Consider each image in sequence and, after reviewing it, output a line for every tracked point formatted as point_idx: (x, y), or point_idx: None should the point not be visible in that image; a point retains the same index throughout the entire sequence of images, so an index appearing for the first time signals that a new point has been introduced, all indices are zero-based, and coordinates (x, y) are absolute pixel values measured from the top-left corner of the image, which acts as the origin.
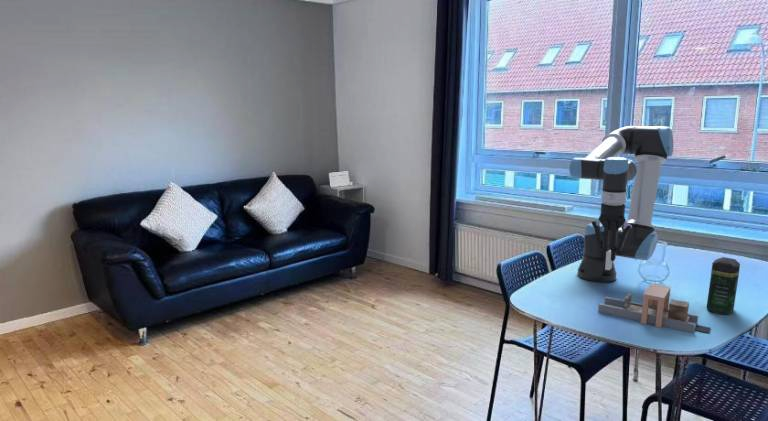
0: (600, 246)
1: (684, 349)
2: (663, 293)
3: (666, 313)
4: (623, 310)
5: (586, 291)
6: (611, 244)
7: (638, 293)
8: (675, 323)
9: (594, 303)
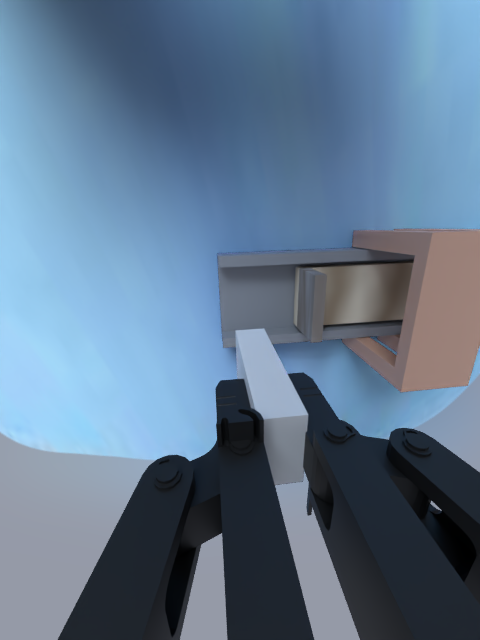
0: (188, 553)
1: (432, 417)
2: (471, 339)
3: None
4: (300, 340)
5: (101, 147)
6: (343, 592)
7: (298, 10)
8: None
9: (185, 272)
